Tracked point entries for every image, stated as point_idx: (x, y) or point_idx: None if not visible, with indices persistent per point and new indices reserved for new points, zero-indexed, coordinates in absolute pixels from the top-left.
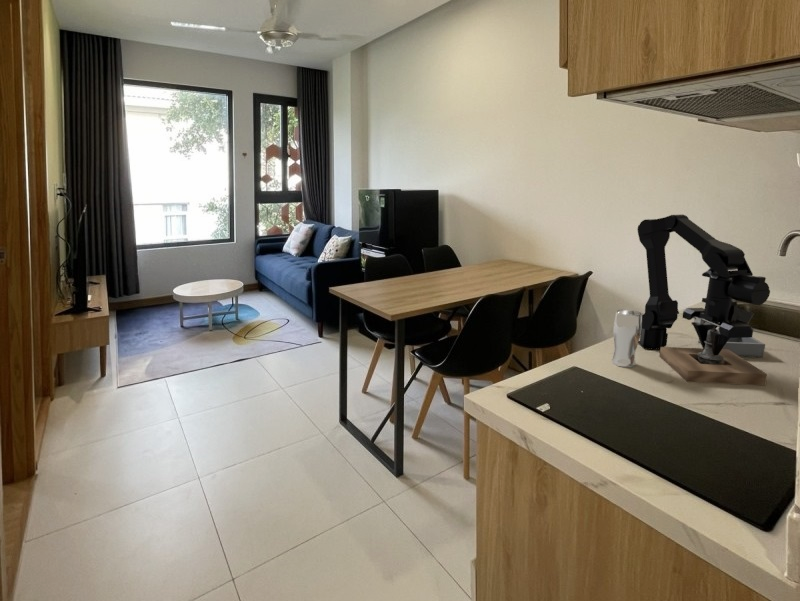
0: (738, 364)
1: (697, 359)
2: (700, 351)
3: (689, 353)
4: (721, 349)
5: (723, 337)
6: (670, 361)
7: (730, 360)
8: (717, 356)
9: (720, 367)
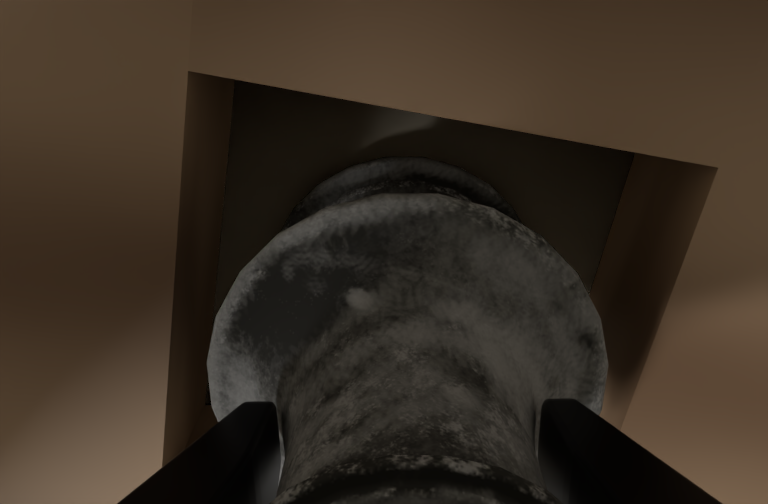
0: (708, 29)
1: (195, 333)
2: (11, 260)
3: (141, 477)
4: (673, 476)
5: None
6: None
7: (491, 30)
8: (546, 371)
9: (748, 412)
